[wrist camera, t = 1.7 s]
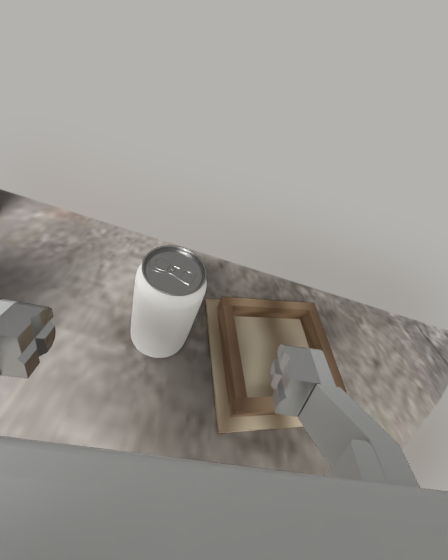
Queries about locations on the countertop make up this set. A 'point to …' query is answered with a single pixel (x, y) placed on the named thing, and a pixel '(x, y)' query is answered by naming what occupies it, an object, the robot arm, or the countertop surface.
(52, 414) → the countertop surface
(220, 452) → the countertop surface
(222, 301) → the wooden serving tray
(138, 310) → the can
